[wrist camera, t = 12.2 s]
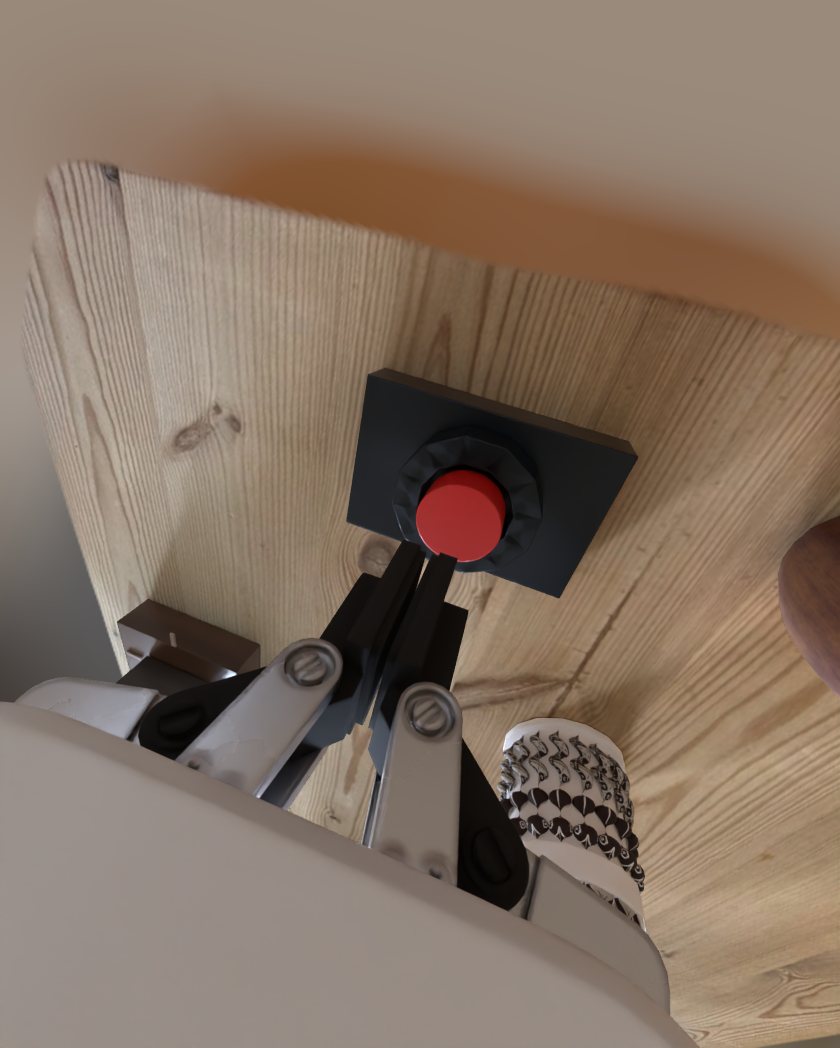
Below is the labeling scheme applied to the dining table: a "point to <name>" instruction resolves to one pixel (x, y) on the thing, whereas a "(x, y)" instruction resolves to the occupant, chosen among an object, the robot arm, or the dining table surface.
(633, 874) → the decorative candle
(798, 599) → the wooden figurine
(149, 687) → the dark grey block
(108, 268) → the dining table surface
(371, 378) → the button box
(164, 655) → the control panel
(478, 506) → the button
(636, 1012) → the robot arm
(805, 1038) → the dining table surface
